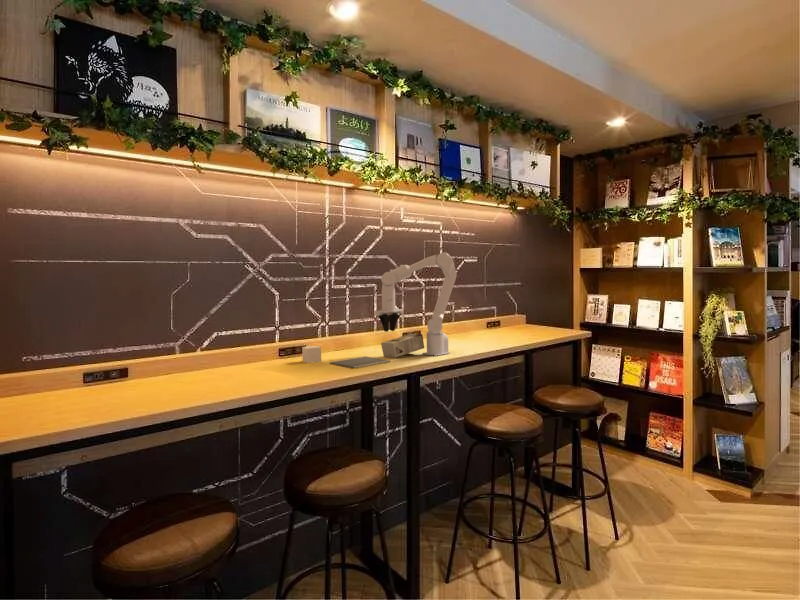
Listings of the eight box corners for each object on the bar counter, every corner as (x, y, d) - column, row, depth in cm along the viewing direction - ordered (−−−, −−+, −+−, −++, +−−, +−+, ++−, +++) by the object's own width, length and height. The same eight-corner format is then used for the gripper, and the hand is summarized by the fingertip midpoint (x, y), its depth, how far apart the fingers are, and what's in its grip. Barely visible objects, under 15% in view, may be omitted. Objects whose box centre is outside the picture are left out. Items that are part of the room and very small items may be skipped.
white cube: (321, 362, 187) (321, 347, 187) (307, 363, 184) (306, 348, 184) (316, 359, 192) (316, 345, 192) (302, 361, 189) (302, 346, 189)
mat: (365, 357, 194) (365, 356, 194) (390, 362, 183) (390, 360, 183) (329, 363, 182) (329, 362, 182) (354, 368, 170) (354, 367, 170)
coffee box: (380, 342, 196) (409, 333, 206) (383, 356, 197) (412, 347, 206) (393, 342, 189) (422, 333, 199) (396, 358, 190) (425, 348, 199)
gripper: (394, 299, 208) (395, 329, 209) (369, 300, 198) (370, 331, 199) (405, 299, 203) (406, 330, 203) (380, 300, 193) (381, 333, 193)
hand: (389, 331), depth 201 cm, fingers open, 3 cm apart
